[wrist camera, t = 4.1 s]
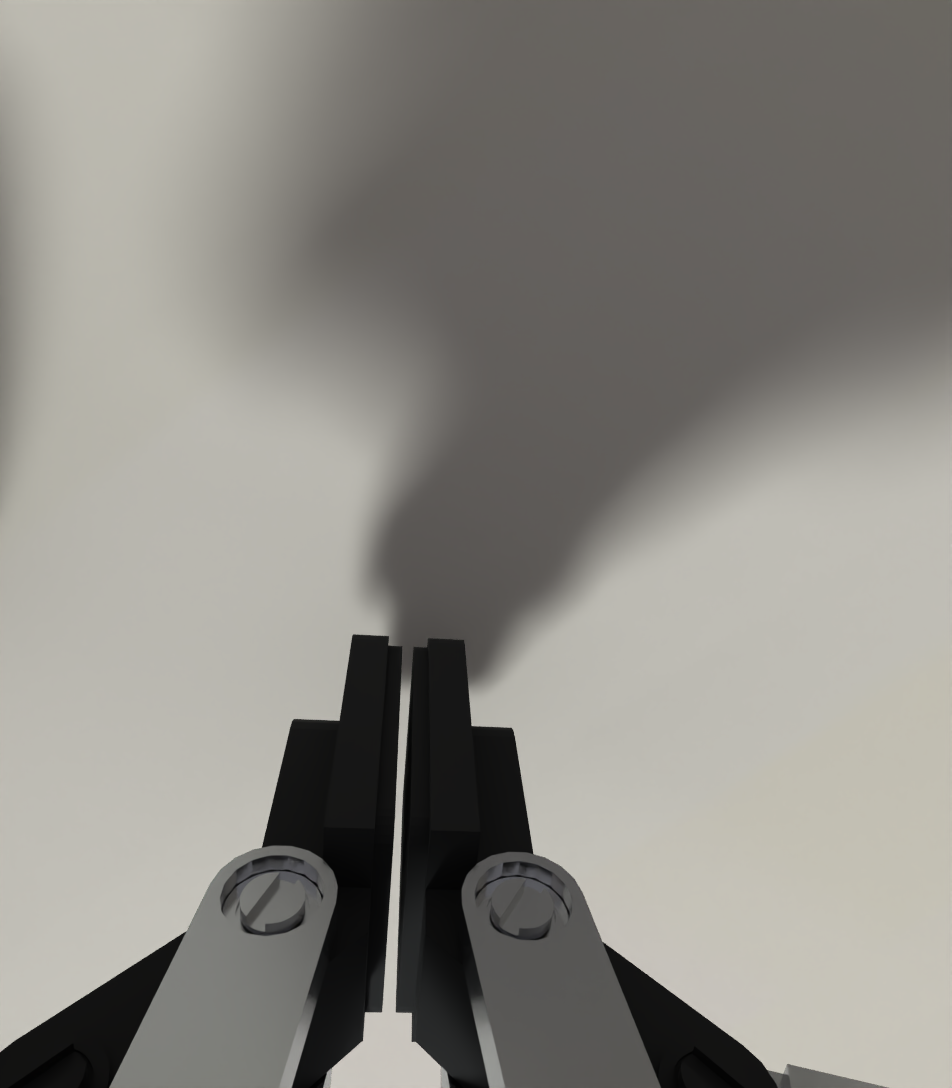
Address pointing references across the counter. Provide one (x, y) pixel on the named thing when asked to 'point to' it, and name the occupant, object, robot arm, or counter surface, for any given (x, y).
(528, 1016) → the robot arm
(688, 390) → the counter surface
